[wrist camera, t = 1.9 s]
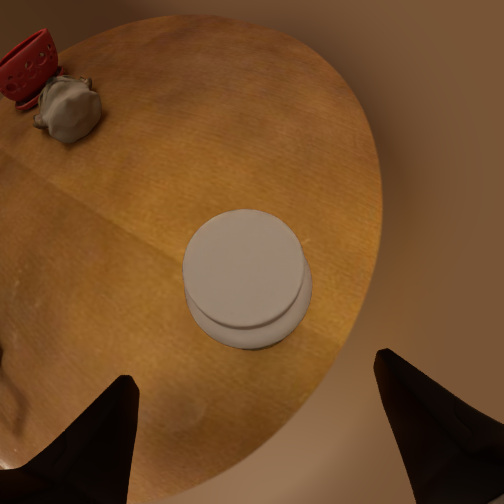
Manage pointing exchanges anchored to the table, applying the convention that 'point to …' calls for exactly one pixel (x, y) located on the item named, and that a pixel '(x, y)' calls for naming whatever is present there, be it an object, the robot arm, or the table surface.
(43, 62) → the flower pot
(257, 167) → the table surface
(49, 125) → the ceramic sculpture
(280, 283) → the pill bottle
